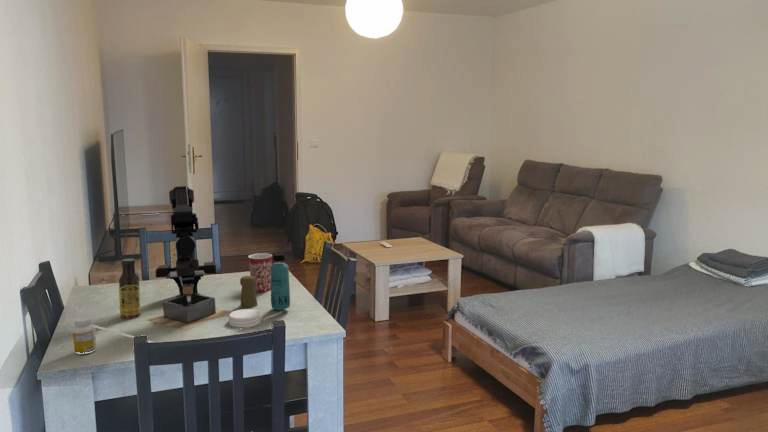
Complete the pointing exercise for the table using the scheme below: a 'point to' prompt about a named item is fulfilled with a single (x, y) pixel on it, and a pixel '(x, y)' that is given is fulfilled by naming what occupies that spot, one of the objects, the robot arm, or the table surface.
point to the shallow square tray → (189, 308)
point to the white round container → (244, 318)
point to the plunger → (188, 292)
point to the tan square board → (184, 326)
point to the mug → (261, 271)
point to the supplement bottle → (84, 335)
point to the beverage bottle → (279, 283)
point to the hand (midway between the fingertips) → (188, 294)
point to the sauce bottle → (129, 291)
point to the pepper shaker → (248, 292)
